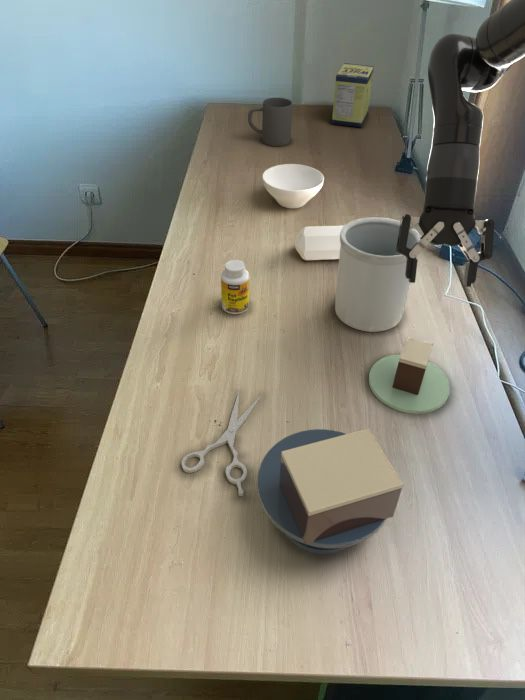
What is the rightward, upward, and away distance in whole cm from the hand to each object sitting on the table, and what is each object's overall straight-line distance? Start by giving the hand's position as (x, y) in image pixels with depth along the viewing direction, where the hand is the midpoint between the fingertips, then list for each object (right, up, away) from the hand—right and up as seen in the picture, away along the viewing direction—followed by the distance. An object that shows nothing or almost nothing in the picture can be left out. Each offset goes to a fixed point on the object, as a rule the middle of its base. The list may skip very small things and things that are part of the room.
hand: (439, 284), depth 89 cm
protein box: (+3, +70, +107) cm, 128 cm away
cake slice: (-2, -16, +10) cm, 19 cm away
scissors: (-33, -24, +1) cm, 41 cm away
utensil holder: (-6, -2, +26) cm, 27 cm away
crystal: (-9, +12, +43) cm, 45 cm away
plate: (-2, -16, +11) cm, 20 cm away
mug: (-26, +56, +91) cm, 110 cm away
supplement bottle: (-33, -2, +26) cm, 43 cm away
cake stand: (-20, -34, -9) cm, 40 cm away
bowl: (-20, +29, +61) cm, 70 cm away
